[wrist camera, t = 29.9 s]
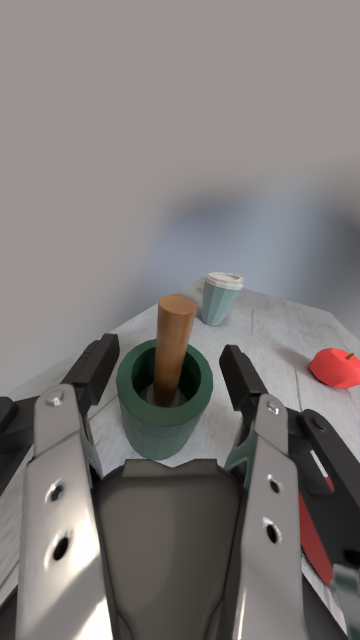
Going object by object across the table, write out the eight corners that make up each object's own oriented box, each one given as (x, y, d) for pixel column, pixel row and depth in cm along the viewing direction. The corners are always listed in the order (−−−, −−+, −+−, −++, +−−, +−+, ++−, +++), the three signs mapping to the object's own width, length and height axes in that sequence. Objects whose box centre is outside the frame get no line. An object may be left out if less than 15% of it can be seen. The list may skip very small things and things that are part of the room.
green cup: (111, 449, 17) (91, 409, 10) (141, 378, 25) (140, 331, 19) (189, 469, 16) (216, 440, 10) (194, 390, 24) (211, 346, 18)
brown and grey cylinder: (140, 426, 18) (136, 311, 8) (151, 393, 22) (157, 286, 12) (172, 433, 18) (209, 326, 8) (178, 399, 22) (207, 296, 12)
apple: (308, 381, 30) (337, 357, 25) (300, 357, 36) (322, 335, 31) (354, 402, 27) (396, 379, 23) (337, 372, 33) (367, 350, 29)
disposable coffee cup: (193, 325, 41) (206, 275, 32) (196, 308, 50) (206, 266, 41) (228, 333, 40) (251, 284, 32) (224, 314, 49) (241, 273, 41)
